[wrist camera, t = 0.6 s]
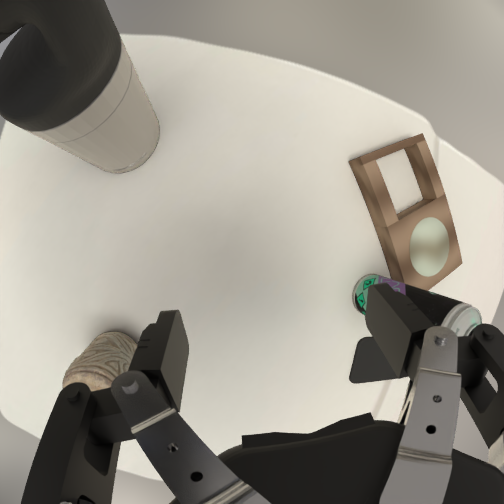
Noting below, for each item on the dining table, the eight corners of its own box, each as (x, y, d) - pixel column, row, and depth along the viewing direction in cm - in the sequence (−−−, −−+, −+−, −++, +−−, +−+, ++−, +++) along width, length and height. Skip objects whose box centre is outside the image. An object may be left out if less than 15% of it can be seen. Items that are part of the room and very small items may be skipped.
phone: (359, 337, 36) (435, 333, 39) (356, 335, 37) (431, 331, 39) (348, 384, 37) (423, 374, 39) (346, 382, 38) (420, 372, 40)
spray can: (377, 266, 36) (498, 298, 16) (391, 299, 37) (502, 346, 17) (345, 288, 36) (460, 343, 16) (361, 321, 36) (465, 388, 17)
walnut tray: (348, 161, 34) (360, 156, 31) (410, 137, 35) (423, 132, 32) (397, 298, 37) (410, 304, 34) (449, 260, 38) (463, 263, 35)
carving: (156, 362, 33) (138, 418, 21) (109, 378, 32) (79, 431, 20) (132, 317, 32) (100, 360, 20) (85, 336, 31) (43, 379, 20)
